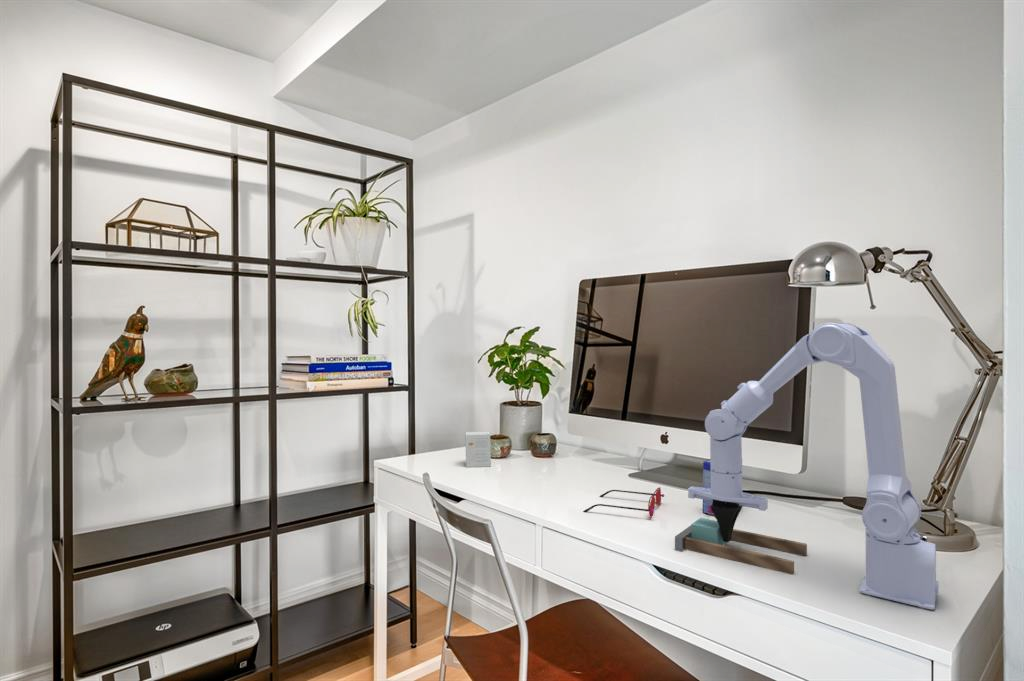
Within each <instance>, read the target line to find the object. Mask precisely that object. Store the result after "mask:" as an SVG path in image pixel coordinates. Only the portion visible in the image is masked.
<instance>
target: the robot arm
mask: <svg viewBox="0 0 1024 681" xmlns="http://www.w3.org/2000/svg"><path fill="white" fill-rule="evenodd" d="M823 362H827V363H830V364H834V365H836V366H839V367H842V368H843V369H845V370H846V372H849V373H850V374H852V375H853V376H855V377H857V379H858V381H859V387H860V388H859V389H860V400H861V401H860V402H861V410H862V417H863V418H862V419H863V429H864V439H865V448H866V458H867V468H868V480H867V486H866V502H865V505H864V507H863V509H862V511H861V512H862V513H861V519H862V523H863V525H864V527H865V528H864V529H865V532H864V533H865V534H864V535H865V536H864V537H865V575H864V578H863V581H862V583H861V586H860V589H859V592H860V593H861V594H865V595H868V596H872V597H873V596H874V597H878V598H882V599H885V600H889V601H895V602H896V603H897V602H898V603H903V604H906V605H910V606H915V607H919V608H923V609H927V610H931V611H933V610H935V606H936V599H937V594H939V581H938V580H937V547H936V546H937V545H936V543H933V542H930V541H929V542H928V541H925V540H922V539H921V535H920V534H919V532H918V531H917V529H916V528H915V527H914V526H915V524H917V522H918V521H919V520H920V519H921V517H922V509H921V504H920V503H919V501H918V499H917V498H916V497H915V495H914V493H913V489H912V487H913V486H912V483H911V481H910V479H909V477H908V476H907V472H906V471H907V470H906V462H905V455H904V454H905V453H904V444H903V435H902V434H903V432H902V424H901V413H900V412H901V411H900V404H899V394H898V383H897V376H896V367H895V364H894V362H893V361H892V359H891V358H890V357H889V355H887V354H886V352H885V351H884V350H883V349H882V348H881V346H879V345H878V343H877V342H876V341H875V340H874V339H873V337H872V335H871V333H870V332H868V331H866V330H865V329H863V328H861V327H859V326H857V325H855V324H854V323H849V322H842V323H836V322H824V323H821V324H819V325H818V326H815V327H814V329H812V331H811V332H810V333H808V334H806V335H804V336H803V337H801V338H800V339H799V341H797V342H796V344H795V345H793V346H792V348H790V350H788V351H787V352H786V354H784V355H783V356H782V357H781V358H780V360H779V361H777V362H776V364H774V365H773V366H772V368H770V369H769V370H768V371H767V372H766V373H765V374H764V375H763V377H761V379H760V380H759V381H758V380H748V381H747V382H740V384H739V385H738V386H737V387H736V388H737V389H738V390H737V391H736V392H735V393H734V394H733V395H732V396H731V397H730V398H729V399H728V400H725V399H724V400H723V401H722V402H721V403H720V405H721V409H720V408H717V409H713V410H710V411H709V413H708V414H707V416H706V417H705V420H704V429H705V431H706V433H707V435H708V436H709V440H710V441H709V446H710V447H709V448H710V449H709V451H710V455H709V456H710V458H709V459H710V465H711V488H703V486H702V487H701V486H700V487H699V486H693V485H692V486H690V487H688V490H687V493H688V494H687V498H688V499H698V500H699V499H700V500H703V499H704V500H710V501H713V503H712V505H711V510H712V512H713V514H714V515H715V516H714V515H713V516H714V517H715V519H716V521H717V522H718V524H719V527H720V530H721V533H722V538H723V542H726V543H729V542H730V541H732V540H731V537H732V532H733V529H735V528H734V527H735V524H736V521H737V519H738V518H739V514H740V512H741V511H742V508H743V507H746V508H751V509H756V510H757V509H758V510H759V511H762V512H765V511H767V509H768V506H769V505H768V502H769V501H768V498H767V497H762V496H757V495H753V494H751V493H746V492H743V450H742V448H743V446H742V440H743V439H742V436H743V435H744V433H745V432H746V431H747V428H748V425H750V424H751V423H752V422H753V421H755V420H756V419H757V418H758V417H759V416H760V415H761V414H763V413H764V412H765V411H766V410H767V409H768V408H770V407H771V406H772V405H773V404H774V394H775V393H776V392H777V391H778V390H780V388H782V387H783V386H784V385H785V384H787V383H788V382H789V381H790V380H791V379H793V378H794V377H795V376H797V375H798V374H799V373H800V372H801V371H802V370H804V369H805V368H807V367H808V366H810V365H815V364H818V363H823Z"/></svg>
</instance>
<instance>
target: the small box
mask: <svg viewBox="0 0 1024 681" xmlns="http://www.w3.org/2000/svg"><path fill="white" fill-rule="evenodd" d="M464 438H465V467H466V468H487V467H492V459H491V458H492V456H491V455H492V454H491V450H492V449H491V448H492V447H491V433H490V430H487V431H486V430H485V431H480V430H479V431H466V432H465V437H464Z"/></svg>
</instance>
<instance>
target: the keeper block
mask: <svg viewBox="0 0 1024 681" xmlns="http://www.w3.org/2000/svg"><path fill="white" fill-rule="evenodd" d="M704 518H705V517H700V518H698V519H697V520H695V521H694V522H693V523H691V524H690V525H691V538H693V539H697V540H702V541H707V542H711V543H716V544H720V545H723V544H724V545H725V544H726V543H727V542H723V538H722V533H721V530H720V527H719V524H718V522H717V520H715V519H709V518H705V519H704Z"/></svg>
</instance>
